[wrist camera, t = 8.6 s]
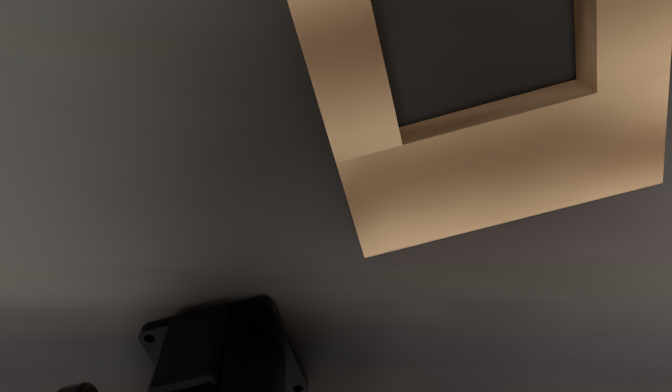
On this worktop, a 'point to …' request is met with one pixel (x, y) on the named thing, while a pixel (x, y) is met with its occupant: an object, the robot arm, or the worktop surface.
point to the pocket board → (490, 126)
